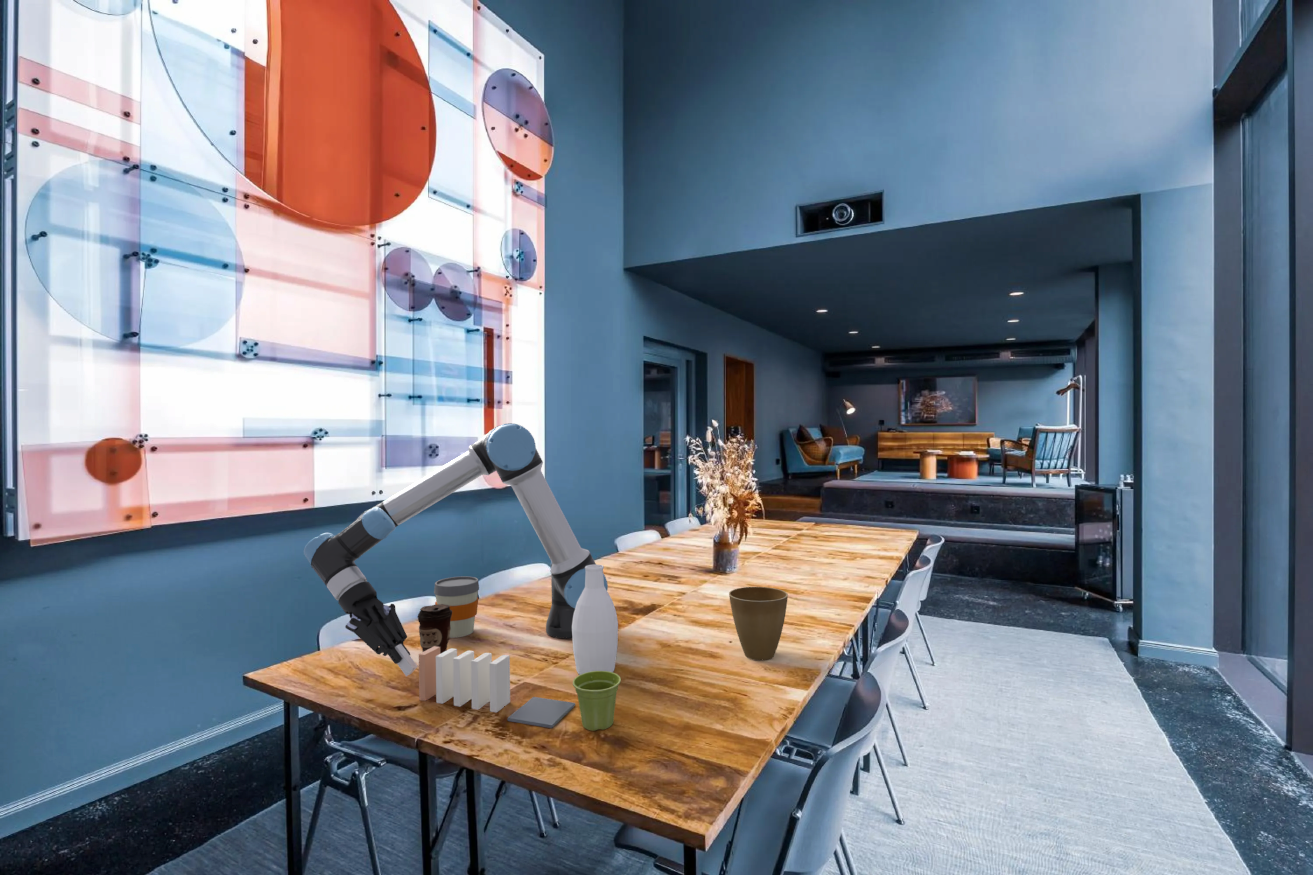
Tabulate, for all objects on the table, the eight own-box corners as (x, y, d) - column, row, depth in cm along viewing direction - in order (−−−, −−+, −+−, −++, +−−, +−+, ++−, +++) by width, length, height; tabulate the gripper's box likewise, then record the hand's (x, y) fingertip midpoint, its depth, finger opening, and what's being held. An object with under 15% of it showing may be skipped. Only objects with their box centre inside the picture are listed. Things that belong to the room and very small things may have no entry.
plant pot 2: (799, 653, 151) (798, 592, 151) (768, 671, 140) (767, 604, 140) (750, 640, 161) (750, 582, 161) (718, 656, 151) (717, 593, 151)
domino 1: (419, 699, 128) (418, 653, 128) (434, 690, 132) (434, 646, 132) (425, 700, 127) (424, 654, 127) (440, 691, 132) (440, 646, 132)
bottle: (599, 659, 150) (597, 559, 150) (628, 671, 142) (626, 565, 142) (563, 671, 142) (561, 566, 142) (591, 685, 134) (590, 573, 134)
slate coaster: (507, 720, 118) (507, 717, 118) (533, 699, 127) (533, 696, 127) (551, 728, 114) (551, 724, 114) (575, 705, 124) (575, 702, 124)
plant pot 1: (602, 740, 109) (601, 694, 109) (563, 727, 114) (562, 683, 114) (630, 719, 117) (630, 676, 117) (593, 708, 122) (592, 667, 122)
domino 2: (436, 702, 126) (435, 656, 126) (451, 692, 131) (450, 648, 131) (442, 703, 126) (441, 657, 126) (457, 693, 130) (456, 648, 130)
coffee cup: (440, 664, 148) (439, 612, 148) (410, 662, 149) (409, 611, 149) (458, 651, 156) (457, 603, 156) (430, 649, 158) (429, 601, 158)
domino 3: (453, 705, 125) (453, 658, 125) (468, 695, 130) (467, 650, 130) (460, 706, 124) (459, 659, 124) (474, 696, 129) (474, 651, 129)
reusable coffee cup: (471, 639, 166) (470, 586, 166) (427, 639, 166) (426, 586, 166) (485, 625, 178) (484, 575, 178) (444, 625, 178) (443, 576, 178)
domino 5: (490, 711, 122) (489, 663, 122) (503, 700, 127) (503, 654, 127) (496, 712, 121) (496, 664, 121) (510, 701, 126) (509, 655, 126)
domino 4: (471, 708, 123) (471, 660, 123) (485, 698, 128) (485, 652, 128) (478, 709, 123) (477, 661, 123) (492, 699, 128) (491, 653, 128)
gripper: (366, 594, 143) (423, 670, 138) (320, 609, 131) (380, 693, 126) (383, 574, 142) (441, 650, 136) (337, 587, 129) (399, 672, 124)
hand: (412, 671), depth 131 cm, fingers closed
